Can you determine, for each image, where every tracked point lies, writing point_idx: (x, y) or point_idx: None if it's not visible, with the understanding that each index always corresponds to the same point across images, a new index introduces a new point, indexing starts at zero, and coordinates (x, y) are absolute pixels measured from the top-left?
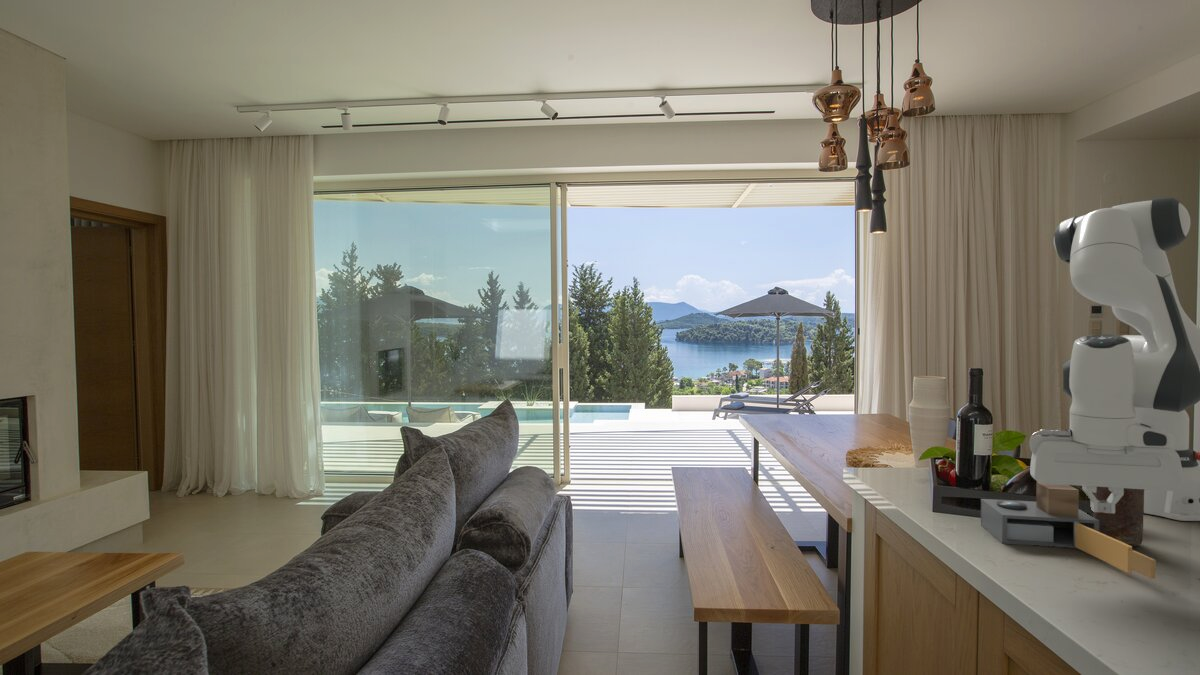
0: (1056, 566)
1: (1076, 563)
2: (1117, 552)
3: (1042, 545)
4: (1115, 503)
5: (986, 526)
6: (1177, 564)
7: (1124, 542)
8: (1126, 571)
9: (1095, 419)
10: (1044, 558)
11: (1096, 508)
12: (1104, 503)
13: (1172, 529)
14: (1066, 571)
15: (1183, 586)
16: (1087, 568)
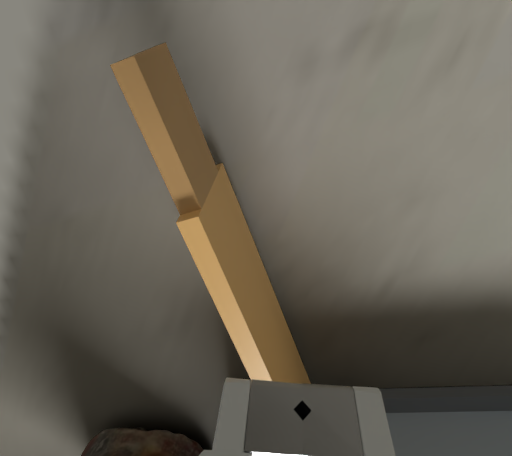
0: (479, 189)
1: (370, 248)
2: (233, 244)
3: (414, 390)
4: (209, 452)
5: None
6: (25, 327)
7: (140, 431)
8: (223, 168)
9: None
10: (479, 269)
11: (367, 407)
12: (304, 453)
13: None
14: (466, 137)
15: (49, 109)
16: (351, 203)
